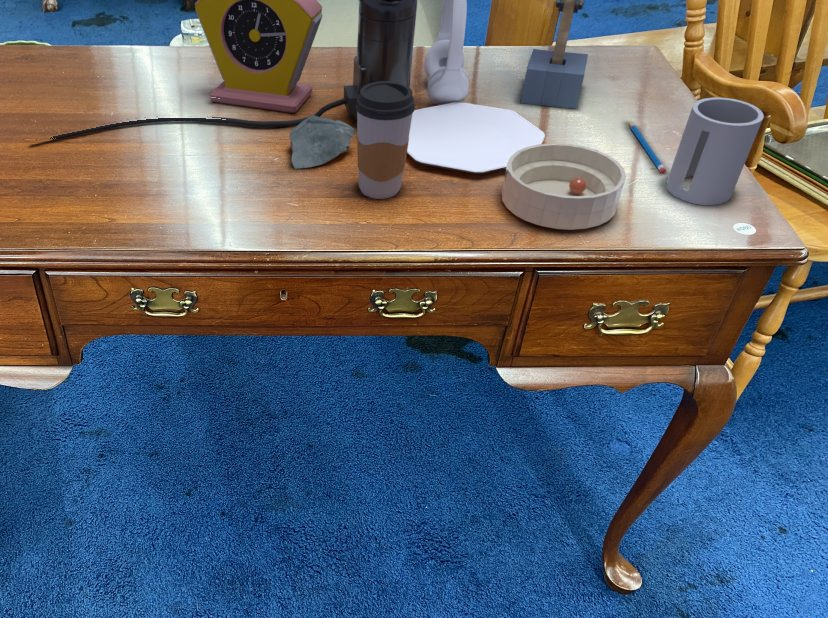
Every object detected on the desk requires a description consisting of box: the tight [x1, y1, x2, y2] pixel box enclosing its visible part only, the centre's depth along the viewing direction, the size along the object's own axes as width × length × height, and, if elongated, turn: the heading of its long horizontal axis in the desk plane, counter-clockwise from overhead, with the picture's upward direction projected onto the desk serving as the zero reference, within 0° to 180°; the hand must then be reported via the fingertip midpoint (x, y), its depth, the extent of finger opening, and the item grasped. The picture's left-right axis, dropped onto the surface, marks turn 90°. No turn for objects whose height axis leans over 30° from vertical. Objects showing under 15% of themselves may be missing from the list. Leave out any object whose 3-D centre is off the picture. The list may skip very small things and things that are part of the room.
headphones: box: [423, 0, 470, 106], centre depth 139 cm, size 7×18×20 cm, turn 176°
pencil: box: [629, 122, 667, 175], centre depth 130 cm, size 1×17×1 cm, turn 179°
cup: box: [665, 96, 765, 206], centre depth 116 cm, size 9×9×12 cm
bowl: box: [501, 142, 627, 231], centre depth 116 cm, size 16×16×6 cm
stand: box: [520, 48, 589, 110], centre depth 143 cm, size 10×10×6 cm
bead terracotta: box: [569, 178, 586, 195], centre depth 118 cm, size 2×2×2 cm
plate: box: [407, 101, 546, 175], centre depth 132 cm, size 24×24×2 cm
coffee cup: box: [356, 81, 416, 200], centre depth 117 cm, size 8×8×15 cm
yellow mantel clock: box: [194, 0, 324, 114], centre depth 140 cm, size 22×9×22 cm, turn 69°
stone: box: [288, 114, 356, 170], centre depth 130 cm, size 11×4×10 cm
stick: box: [551, 0, 576, 65], centre depth 137 cm, size 2×2×16 cm
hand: (568, 9), depth 133 cm, fingers closed on stick, 2 cm apart
